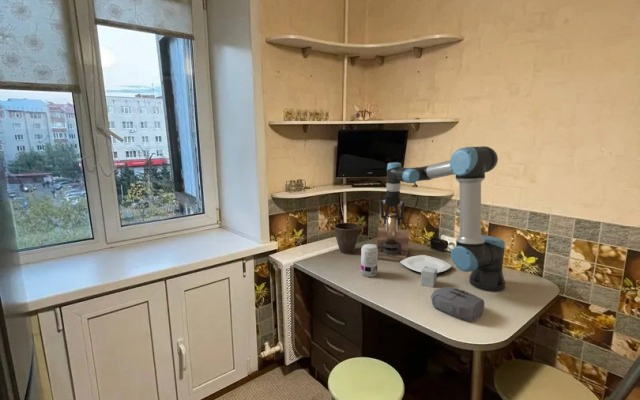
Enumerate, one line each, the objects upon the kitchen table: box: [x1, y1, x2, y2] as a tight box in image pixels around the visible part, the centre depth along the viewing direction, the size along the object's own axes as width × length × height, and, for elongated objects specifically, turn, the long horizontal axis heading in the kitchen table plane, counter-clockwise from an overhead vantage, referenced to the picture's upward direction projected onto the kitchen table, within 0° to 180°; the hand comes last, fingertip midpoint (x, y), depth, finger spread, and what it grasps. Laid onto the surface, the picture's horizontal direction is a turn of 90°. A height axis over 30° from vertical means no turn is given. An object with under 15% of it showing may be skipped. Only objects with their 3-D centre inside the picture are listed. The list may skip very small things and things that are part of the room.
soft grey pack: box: [430, 286, 485, 322], centre depth 139 cm, size 15×8×20 cm
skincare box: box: [420, 266, 438, 288], centre depth 162 cm, size 6×6×7 cm
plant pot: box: [333, 222, 360, 254], centre depth 205 cm, size 15×15×16 cm
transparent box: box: [377, 227, 410, 263], centre depth 198 cm, size 18×18×14 cm
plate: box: [399, 254, 452, 274], centre depth 182 cm, size 23×23×2 cm
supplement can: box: [360, 243, 379, 278], centre depth 173 cm, size 8×8×15 cm
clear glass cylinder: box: [387, 212, 397, 245], centre depth 197 cm, size 5×5×18 cm
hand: (391, 230), depth 197 cm, fingers closed on clear glass cylinder, 5 cm apart
